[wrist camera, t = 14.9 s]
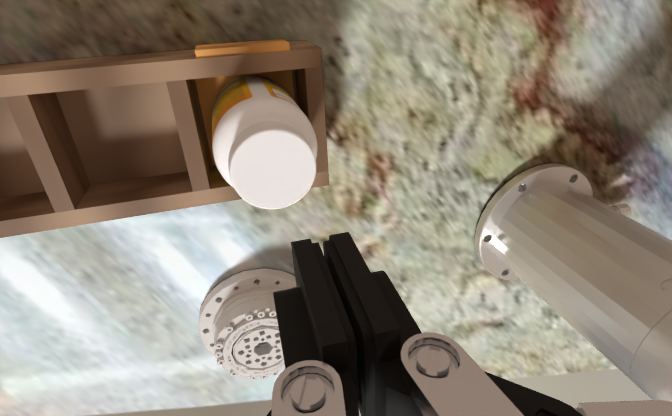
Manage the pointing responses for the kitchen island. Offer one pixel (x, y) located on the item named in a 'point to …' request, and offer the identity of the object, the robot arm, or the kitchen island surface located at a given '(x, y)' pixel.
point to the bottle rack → (132, 130)
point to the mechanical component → (245, 322)
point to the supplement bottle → (263, 143)
